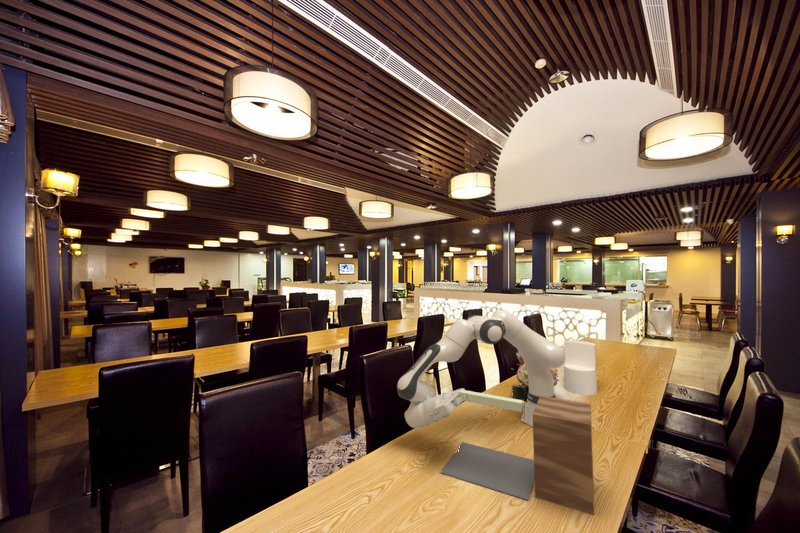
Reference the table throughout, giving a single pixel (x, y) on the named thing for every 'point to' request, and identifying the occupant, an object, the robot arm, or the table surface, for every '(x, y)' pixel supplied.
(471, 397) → the stick
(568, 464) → the wooden pedestal block
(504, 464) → the mat
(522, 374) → the rose bouquet
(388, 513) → the table surface
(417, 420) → the robot arm
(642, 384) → the table surface
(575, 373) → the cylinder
